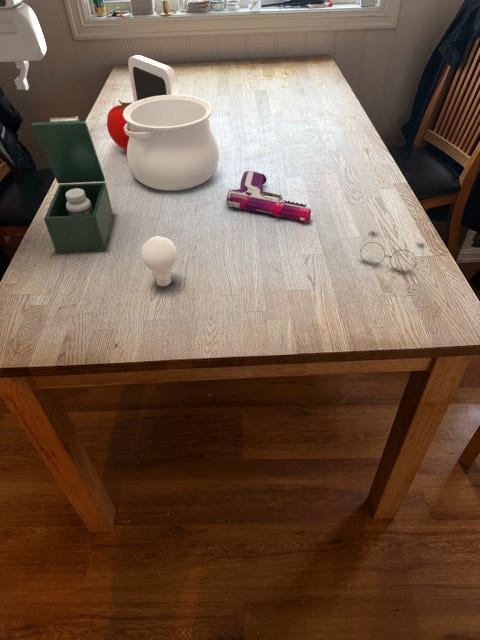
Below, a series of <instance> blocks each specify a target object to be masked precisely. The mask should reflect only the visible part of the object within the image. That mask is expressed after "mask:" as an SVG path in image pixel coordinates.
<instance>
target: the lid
mask: <svg viewBox="0 0 480 640" xmlns="http://www.w3.org/2000/svg"><path fill="white" fill-rule="evenodd" d="M87 123H88V122H87V121H86V120H80V119H79V117H78V116H69V117H66V116H65V117H49V121H45V122H43V121H42V122H31V128H32V130H33V133H34V135H35V136H36V139H37V141H38V143H39V146H40V147H41V149H42V151H43V155H44V156H45V158H46V160H47V163H48V165H49V167H50V169H51V171H52V174H53V176H54V177H55V180H56V182H57V184H58V185H59V184H62V185H63V184H81V183H103V182H106V177H105V174H104V171H103V169H102V165H101V162H100V159H99V157H98V154H97V153H98V152H97V150H96V147H95V144H94V141H93V138H92V136H91V133H90V130H89V126H88V124H87Z"/></svg>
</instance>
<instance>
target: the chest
mask: <svg viewBox="0 0 480 640" xmlns="http://www.w3.org/2000/svg"><path fill="white" fill-rule="evenodd" d="M75 188H79V189H82V190H84V192H85V195H86V198H88V199H89V200H90V202H91V205H92V209H93V215H77V216H69V215H68V212H67V209H66V203H67V199H66V195H65V194H66V192H67V191H69V190H71V189H75ZM113 220H114V211H113V207H112V202H111V198H110V195H109V191H108V186H107V183H106V181H105V182H84V183H62V184H58V186H57V188H56V190H55V193H54V194H53V197H52V199H51V201H50V204H49V206H48V208H47V211H46V213H45V215H44V218H43V222H44V224H45V226H46V229H47V231H48V235H49V237H50V239H51V243H52V245H53V248H54V251H55V253H56V254H73V253H74V254H77V253H92V252H93V253H94V252H95V253H96V252H106V248H107V244H108V240H109V236H110V232H111V227H112V225H113V224H112V223H113Z"/></svg>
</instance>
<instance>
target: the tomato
mask: <svg viewBox="0 0 480 640" xmlns="http://www.w3.org/2000/svg"><path fill="white" fill-rule="evenodd" d="M118 102H119V104H116V105H115V106H113V107H112V108H111V109H110V110H109V111H108V114H107V117H106V128H107V132H108V135H109V136H110V138H111V140H112V141H113V142H114V143H115V144H116V145H117V146H118V147H119V148H122V149H123V150H125V151H127V145H128V141H129V137H130V136H128V135H126V133H125V131H124V126H125V125H126V124H127V123H128V122H127V121H126V120H125V119H124V117H123V111H124V110H125V108H126V107H127V106H129V105H130V104H132V103H134V100H133V101H130V102H124V101H123V102H122V101H121V100H120V99H118ZM128 131H130V128H129V129H128Z"/></svg>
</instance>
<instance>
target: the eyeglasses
mask: <svg viewBox="0 0 480 640" xmlns="http://www.w3.org/2000/svg"><path fill="white" fill-rule="evenodd" d="M371 233H372V235H373V236H374V235H375V233H374V231H373V230H371V231H370V232H369V233H368V235H371ZM365 240H366V238H364V239H363V240H362V241H361V245H362V244H363V242H364V241H365ZM368 244H377V245H378V246H380V247H381V248H382V250H383V252H384V253H386V251H385V248H384V247H383V246H382V245H381V244H380V243H377V242H372V241H371V242H367V243H364V246H366V245H368ZM364 246H361V247H360V250H359V251H360V252H362V250H363V248H364ZM420 246H423V243H421V244H420ZM401 251H402V252H403V251H405V252H409V253H410V254H412V252H411V251H410V250H407V249H406V250H405V249H399V250H397V251H395V252H394V254H396V253H398V252H401ZM423 255H424V252H422V257H423ZM360 257H361V259H362V260H363V261H364V263H366V264H369V265H371V263H370V262H367V261H366V260H365V259H364V258H363V256H362V255H360ZM386 257H388V258H389V260H390V261H389V262H390V263H389V264H390V265H391V267H392V268H394V266H393V265H392V258H393V255H387V254H384V256H383V259H382V260H381V261H380V262H378V263H377V262H376V265H378V264H380V263H381V262H383V261H384V260H385V258H386ZM413 257H414V259H415V260H417V257H416V256H415V255H413ZM416 266H418V263H415V264H414V266H413V268H415V267H416ZM394 270H395V271H397V272H399V273H401V271H400V270H398V269H396V268H394ZM411 271H412V269H410V270H408V271H406V273H408V272H411Z"/></svg>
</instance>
